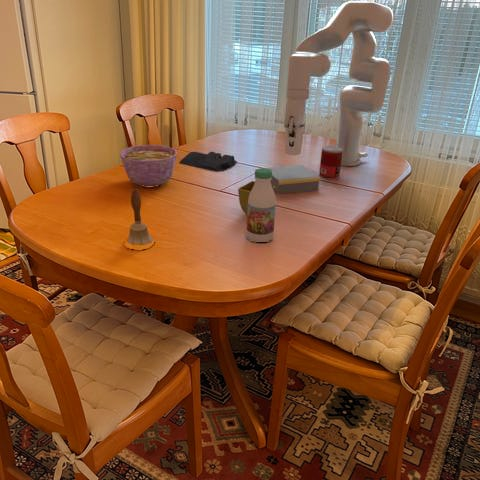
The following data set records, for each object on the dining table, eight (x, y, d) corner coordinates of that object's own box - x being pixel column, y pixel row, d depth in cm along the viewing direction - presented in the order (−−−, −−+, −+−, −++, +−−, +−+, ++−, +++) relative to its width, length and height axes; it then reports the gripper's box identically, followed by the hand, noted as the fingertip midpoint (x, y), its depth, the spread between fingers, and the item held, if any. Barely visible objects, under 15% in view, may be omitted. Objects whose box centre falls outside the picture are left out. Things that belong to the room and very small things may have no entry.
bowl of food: (189, 184, 167) (188, 153, 162) (144, 198, 154) (142, 164, 148) (155, 171, 179) (154, 141, 174) (111, 182, 166) (108, 151, 160)
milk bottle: (245, 231, 133) (247, 165, 124) (271, 231, 134) (275, 166, 125) (247, 244, 126) (250, 175, 117) (275, 243, 127) (280, 175, 118)
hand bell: (153, 250, 121) (150, 194, 114) (121, 250, 121) (116, 194, 113) (156, 236, 129) (153, 183, 121) (126, 236, 128) (121, 183, 121)
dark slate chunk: (196, 155, 201) (196, 144, 199) (240, 164, 192) (240, 153, 189) (176, 164, 189) (175, 153, 187) (221, 174, 180) (222, 162, 177)
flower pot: (260, 222, 139) (262, 194, 135) (236, 215, 143) (237, 188, 139) (274, 212, 146) (276, 186, 142) (250, 206, 150) (252, 180, 146)
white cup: (304, 151, 165) (307, 124, 160) (298, 156, 160) (300, 128, 155) (287, 148, 168) (289, 121, 163) (280, 153, 163) (282, 125, 158)
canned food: (339, 179, 176) (343, 151, 171) (318, 177, 178) (321, 150, 173) (339, 173, 183) (343, 146, 178) (319, 171, 184) (322, 144, 179)
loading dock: (300, 177, 178) (301, 164, 175) (318, 190, 165) (320, 177, 163) (262, 180, 172) (263, 168, 170) (278, 194, 160) (279, 181, 158)
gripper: (293, 89, 162) (289, 140, 171) (280, 96, 149) (276, 151, 157) (314, 91, 160) (308, 143, 168) (302, 98, 146) (297, 154, 155)
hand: (293, 146), depth 162 cm, fingers closed on white cup, 2 cm apart
